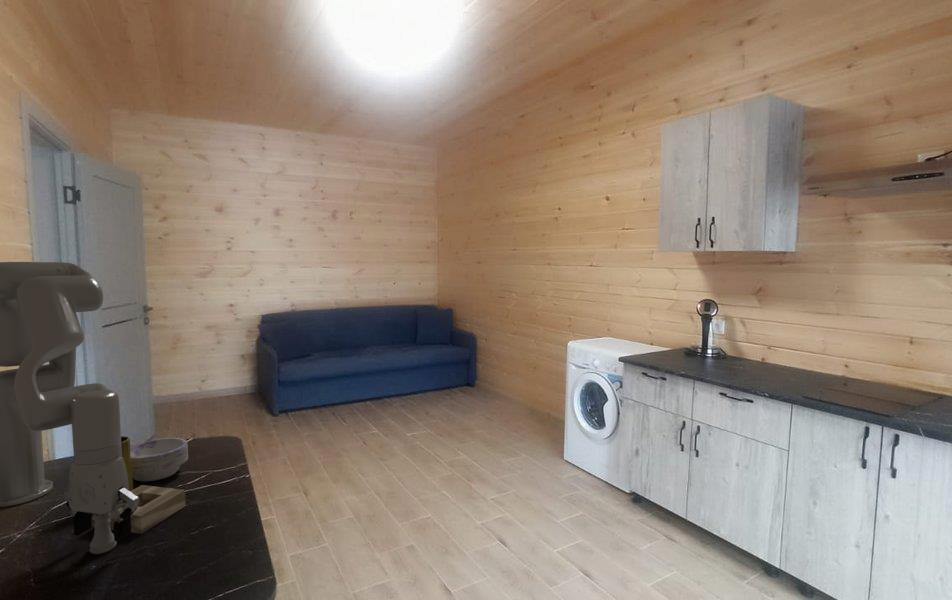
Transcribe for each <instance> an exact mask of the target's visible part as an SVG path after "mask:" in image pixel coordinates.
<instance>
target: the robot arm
mask: <svg viewBox="0 0 952 600" xmlns="http://www.w3.org/2000/svg"><path fill="white" fill-rule="evenodd" d="M103 302H104V291H103V288H102V287H101V284H100V283H99V282H98V280H97V279H96V278H95V277H94V276H93V274H91V273H89V272H88V271H86V270H85V269H83V268H82V267H80V266H78V265H76V264H75V263H71V262H64V261H63V262H61V261H59V262H58V261H51V262H50V261H49V262H48V261H41V262H40V261H1V262H0V367H2V368H4V367H5V368H6V367H7V368H9V367H18V368H12V369H5V370H0V508H4V507H5V508H6V507H10V506H16V505H21V504H24V503H28V502H31V501H33V500H36V499H39V498H40V497H43V496H45V495H47V494H48V493H50V492H51V491H52V490H53V488H54V482H53V481H52V480H49V479H45V468H44V467H45V465H44V464H45V463H44V451H43V450H44V449H43V436H42V435H43V433H42V432H44V431H49V430H53V429H56V428H57V429H58V428H61V427H66V426H71V429H72V430H71V432H72V448H73V449H72V450H73V461H72V462H71V464H70V467H69V476H68V489H67V490H65V491H63V492H62V496H63V498H64V500H65V502H66V503H65V505H66V507H67V508H68V509H69V515H70V516H71V517H72V524H73V536H77V537H78V536H79V535H82V534H83V533H85V532H87V531H88V530H90V529H91V528H92V526H93V524H92V514H93V513H94V514H108V513H111V514H112V515H113V517H114V518H115V519H116V522H114V530H113V535H114V540H115V541H116V542H119V541H121V540H123V539H125V538H126V537H128V536H129V535H131V533H132V532H131V517H130V516H131V515H133V513H134V512H135V510H136V509H137V505H138V503H139V501H140V499H139V497H137V496H136V495H134V494H133V493H131V492H130V491H129V484H128V477H127V471H126V466H125V462H124V459H123V457H122V448H121V436H122V434H121V433H122V431H121V415H120V414H121V413H120V411H121V410H120V398H119V394H118V393H117V392H116V391H115V390H111V389H109V388H108V387H107V386H106V385H104V384H103V383H99V382H96V383H95V382H94V383H87V384H81V385H76V386H75V382H76V380H75V379H76V361H77V358H76V357H77V348H78V347H79V346H81V344H82V343H83V342H84V340H85V335H84V332H83V330H82V326H81V324H80V321H79V318H78V314H77V313H82V312H83V313H86V312H88V313H89V312H94V311H97V310H99V309H100V308H101V307H102V306H103ZM116 504H118V505H116ZM119 508H122V510H123V512H122V513H121V514H120V512H119V511H118V509H119ZM94 514H93V515H94Z"/></svg>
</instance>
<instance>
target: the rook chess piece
mask: <svg viewBox="0 0 952 600" xmlns="http://www.w3.org/2000/svg"><path fill="white" fill-rule="evenodd" d="M92 514H93V515H91V521H94V522H93V524H92V526H93V527H94V532H93V533H94V534H93V537H92V538H91V539H92V540H91V541H90V543H89V548H90V549H89V550H88V551H89V552H90V553H91V554H92V555H101V554H105V553H108V552H110V551H112V550H113V549H114V548H115V547H116V545H117V543H118V541H115V540H114V532H112V530H111V528H110V521H111V520H110V519H109V517H110V515H111V513H108V514H94V513H92Z"/></svg>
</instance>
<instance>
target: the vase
mask: <svg viewBox="0 0 952 600" xmlns="http://www.w3.org/2000/svg"><path fill="white" fill-rule="evenodd" d="M130 447H131V439H130V437H129V436H122V435H121V448H122V457H123V459H124V462H125V466H126V471H127V477H128V484H129V491H132V490H134V489H135V487H134V482H133V481H134V478H133V477H132V469H131V456H130Z"/></svg>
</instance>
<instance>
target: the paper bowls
mask: <svg viewBox="0 0 952 600" xmlns="http://www.w3.org/2000/svg"><path fill="white" fill-rule="evenodd" d="M130 456H131V469H132V477H133V480H135V481H136V482H137V481H138V482H145V483H146V482H155V481H160V480H163V479H166V478H170V477H171V476H173V475H175V474H176V473H177V472H178V471H179V469H180V467H181V465H183V464H185V463H186V462H187V461H188V459H189V445H188V441H187V440H186V439H185V438H180V437H164V438H156V439H152V440H151V439H150V440H147V441H143V442H138V443H137V444H133V445H130Z"/></svg>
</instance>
